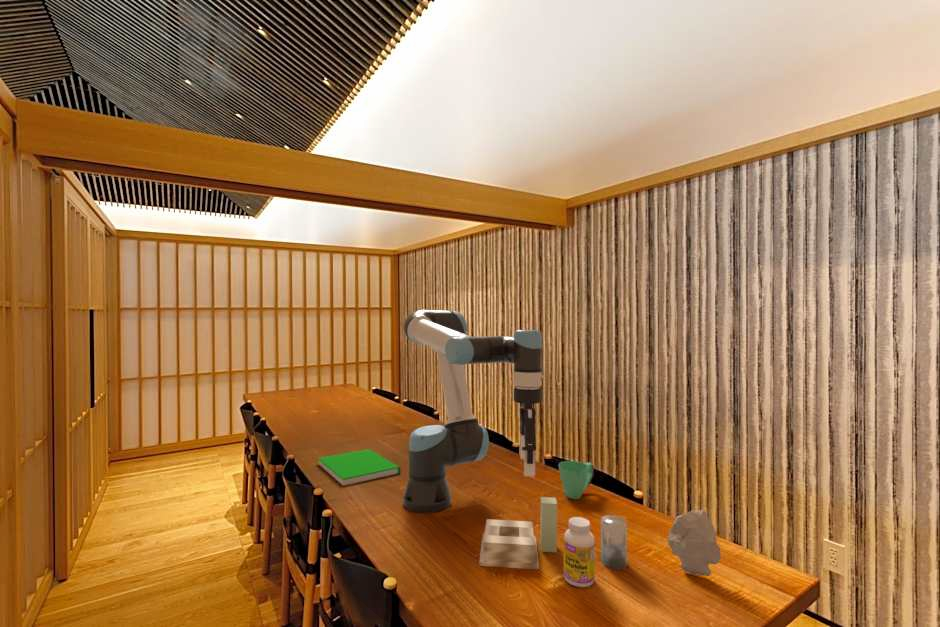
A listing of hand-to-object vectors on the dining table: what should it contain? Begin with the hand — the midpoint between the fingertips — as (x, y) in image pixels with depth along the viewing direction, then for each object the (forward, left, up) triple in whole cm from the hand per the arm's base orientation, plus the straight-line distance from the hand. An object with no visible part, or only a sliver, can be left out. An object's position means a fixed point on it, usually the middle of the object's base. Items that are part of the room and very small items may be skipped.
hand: (527, 466), depth 114 cm
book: (-64, +46, -20) cm, 81 cm away
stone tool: (+37, -13, -19) cm, 44 cm away
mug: (+18, +31, -19) cm, 41 cm away
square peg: (+5, -5, -19) cm, 20 cm away
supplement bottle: (+11, -17, -19) cm, 28 cm away
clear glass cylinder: (+20, -10, -19) cm, 29 cm away
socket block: (-5, -8, -19) cm, 21 cm away
